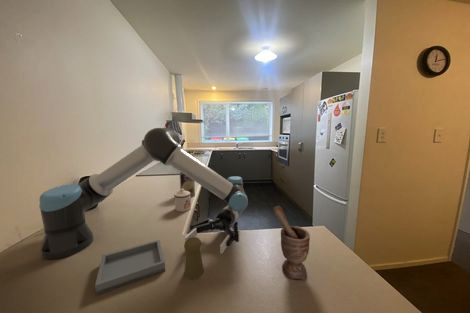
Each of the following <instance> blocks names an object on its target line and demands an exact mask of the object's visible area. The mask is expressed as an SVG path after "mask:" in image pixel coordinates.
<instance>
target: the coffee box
mask: <svg viewBox="0 0 470 313" xmlns="http://www.w3.org/2000/svg"><path fill="white" fill-rule="evenodd" d="M195 184H196V182H195V181H194V180H192V179H191V178H189V177H188V176H186V175H185V174H183V173H182V172H180V171H179V188H180V189H179V191H180V190H181V189H184V190H185V191H189V192H190V193H191V195H190V198H191V197H196V191H195V189H196V187H195V186H196V185H195Z"/></svg>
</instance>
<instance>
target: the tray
mask: <svg viewBox="0 0 470 313" xmlns="http://www.w3.org/2000/svg"><path fill="white" fill-rule="evenodd" d="M165 262H166V261H165V258H164V254H163V249H162V246H161V241H160V239H157V240H152V241H149V242H145V243H142V244H138V245H134V246H131V247H128V248H123V249H120V250H116V251H114V252H109V253H106V254H102V256H101V258H100V262H99V263H100V264H99V268H98V271H97V272H98V273H97V276H96V280H95V285H94V288H95V294H96V296H98V294H99V295H101V294H104V293H107V292H109V290H110V291H112V290H115V289H117V288H118V289H119V288H122V287H123V286H126V285H129V284H132V283H135V282H138V281H140V280H142V279H146V278H148V277H152V276H154V275H157V274H160V273H162V272H165V271H166V263H165Z"/></svg>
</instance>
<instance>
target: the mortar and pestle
mask: <svg viewBox="0 0 470 313" xmlns="http://www.w3.org/2000/svg"><path fill="white" fill-rule="evenodd" d="M273 212H274V214H275V216H276V218H277V219H278V221H279V223H280V224H281V226H282V228H281V230H280V248H281V252H282V255H283V257H284V258H285V260H284V261H283V263H282V267H281V268H282V269H281V270H282V272H283V274H284V275H285V276H287V277H289V278H290V279H293V280H304V279H305V278H306V276H307V268H306V265H305V264H304V263H303V262H305V261H306V260H307V258H308V255H309V252H310V242H311V240H310V237H311V236H310V232H309V231H308V230H307V229H305V228H303V227H301V226H298V225H297V226H296V225H290V224H289V222H288V219H287V216H286V215H285V211H284V210H283V208H282V207H281V206H280V205H277V206H274V207H273Z"/></svg>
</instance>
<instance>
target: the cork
mask: <svg viewBox="0 0 470 313" xmlns="http://www.w3.org/2000/svg"><path fill="white" fill-rule="evenodd" d="M183 248H184V251H185V263H184V272H183V274H184V277H185V278H186V279H188V280H196V279H198V278H201V276H202V275H203V274H204V271H205V270H204V264H203V259H202V253H201V249H202V241H201V239H200V238H199V237H196V236H195V237H192V238H189V239H187V240H186V242H185V241H184V247H183Z"/></svg>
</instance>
